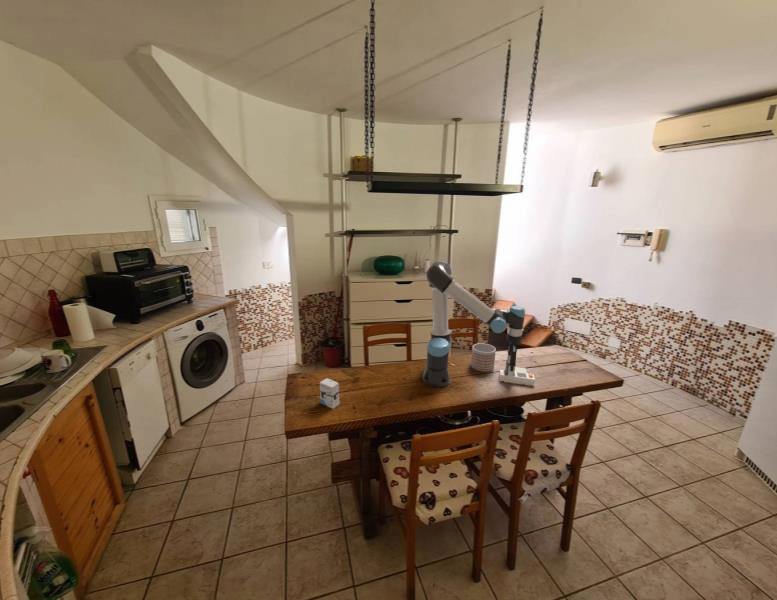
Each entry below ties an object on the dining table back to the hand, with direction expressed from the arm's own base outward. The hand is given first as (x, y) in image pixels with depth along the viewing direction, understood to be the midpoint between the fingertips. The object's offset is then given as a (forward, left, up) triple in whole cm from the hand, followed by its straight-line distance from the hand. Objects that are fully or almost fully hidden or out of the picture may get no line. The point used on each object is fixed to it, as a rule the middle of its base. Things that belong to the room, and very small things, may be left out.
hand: (509, 370), depth 183 cm
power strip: (+4, 0, -6) cm, 7 cm away
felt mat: (+6, +12, -6) cm, 15 cm away
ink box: (-87, -51, -6) cm, 101 cm away
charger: (0, 0, -4) cm, 4 cm away
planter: (-15, +12, -6) cm, 20 cm away
